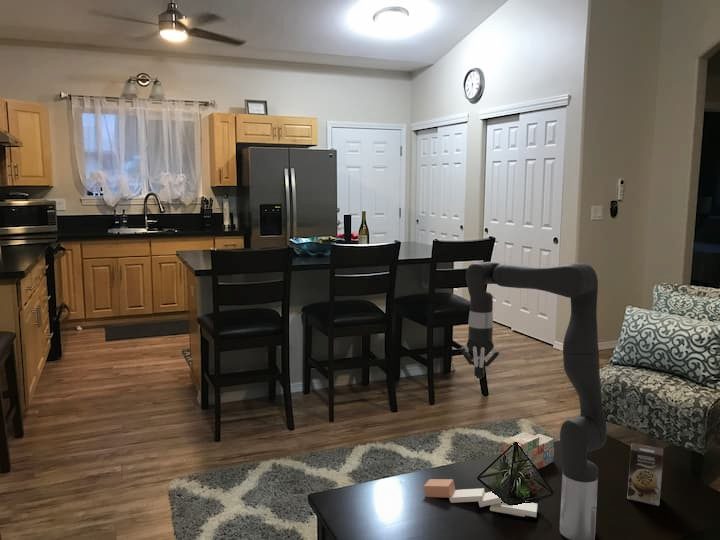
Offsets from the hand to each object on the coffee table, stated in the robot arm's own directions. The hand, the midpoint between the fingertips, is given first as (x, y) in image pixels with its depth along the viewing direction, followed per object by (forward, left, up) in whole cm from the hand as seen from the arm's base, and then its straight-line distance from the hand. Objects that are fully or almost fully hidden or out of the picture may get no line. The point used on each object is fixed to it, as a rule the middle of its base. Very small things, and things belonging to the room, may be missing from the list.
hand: (479, 377), depth 187 cm
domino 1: (+12, +14, -33) cm, 38 cm away
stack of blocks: (-14, -16, -35) cm, 41 cm away
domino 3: (-3, +14, -34) cm, 37 cm away
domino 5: (-11, +14, -34) cm, 38 cm away
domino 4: (-7, +14, -35) cm, 39 cm away
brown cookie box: (-50, -10, -35) cm, 62 cm away
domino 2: (+5, +14, -34) cm, 37 cm away
